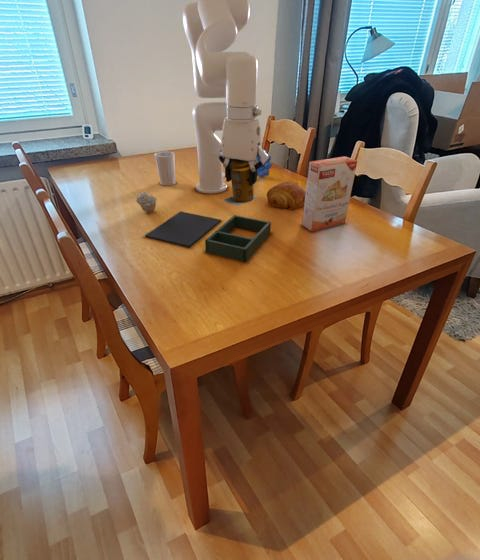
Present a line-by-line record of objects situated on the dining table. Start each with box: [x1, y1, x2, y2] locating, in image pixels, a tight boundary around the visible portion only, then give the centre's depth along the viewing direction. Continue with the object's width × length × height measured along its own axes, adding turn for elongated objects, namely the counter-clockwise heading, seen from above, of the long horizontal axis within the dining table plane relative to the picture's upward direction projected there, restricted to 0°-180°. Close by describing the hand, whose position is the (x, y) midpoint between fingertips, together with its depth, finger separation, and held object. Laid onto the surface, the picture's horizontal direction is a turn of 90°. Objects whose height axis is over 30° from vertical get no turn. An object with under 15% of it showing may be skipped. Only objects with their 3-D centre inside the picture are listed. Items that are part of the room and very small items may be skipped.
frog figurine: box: [135, 192, 157, 213], centre depth 123 cm, size 6×7×7 cm
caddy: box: [204, 214, 272, 263], centre depth 105 cm, size 19×13×4 cm, turn 155°
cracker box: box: [301, 156, 358, 232], centre depth 111 cm, size 14×6×21 cm, turn 117°
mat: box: [144, 211, 222, 249], centre depth 114 cm, size 20×16×1 cm
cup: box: [154, 150, 176, 187], centre depth 147 cm, size 8×8×12 cm
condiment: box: [222, 159, 260, 207], centre depth 99 cm, size 7×8×12 cm
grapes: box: [256, 149, 273, 179], centre depth 153 cm, size 12×7×12 cm, turn 34°
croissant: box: [266, 181, 306, 210], centre depth 130 cm, size 14×16×8 cm
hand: (240, 181), depth 99 cm, fingers closed on condiment, 6 cm apart
